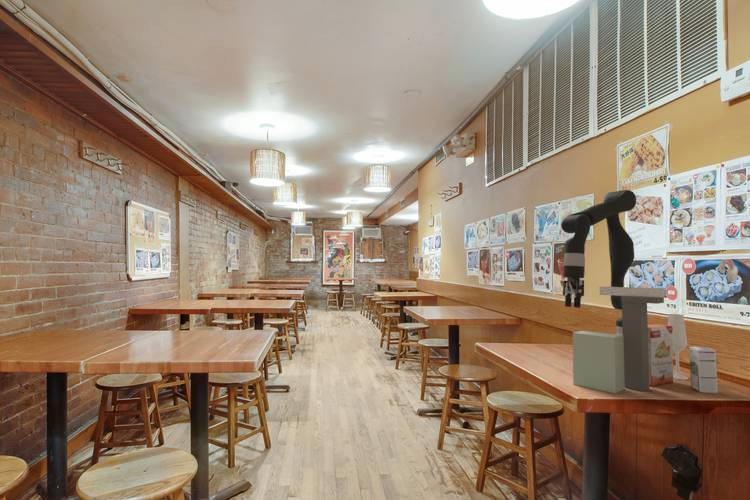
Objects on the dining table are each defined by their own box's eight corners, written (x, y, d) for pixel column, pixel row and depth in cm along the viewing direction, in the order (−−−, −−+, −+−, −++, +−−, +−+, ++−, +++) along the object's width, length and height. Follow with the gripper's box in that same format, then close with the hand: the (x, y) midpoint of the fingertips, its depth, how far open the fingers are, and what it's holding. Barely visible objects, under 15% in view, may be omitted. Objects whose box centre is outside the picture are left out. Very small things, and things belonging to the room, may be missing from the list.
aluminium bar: (599, 294, 156) (599, 286, 157) (603, 294, 158) (602, 286, 159) (662, 297, 141) (662, 288, 141) (665, 297, 143) (665, 288, 143)
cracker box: (652, 387, 149) (651, 327, 150) (635, 383, 154) (634, 325, 155) (675, 382, 155) (673, 325, 156) (657, 378, 161) (656, 323, 162)
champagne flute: (662, 375, 166) (661, 313, 167) (678, 374, 166) (676, 313, 167) (676, 379, 159) (674, 315, 160) (693, 379, 160) (691, 315, 161)
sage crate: (573, 384, 151) (572, 332, 152) (583, 380, 156) (582, 330, 157) (615, 393, 141) (614, 337, 142) (624, 389, 146) (623, 335, 147)
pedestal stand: (623, 387, 148) (621, 296, 149) (630, 384, 152) (628, 295, 154) (659, 395, 139) (657, 297, 141) (666, 391, 144) (663, 296, 145)
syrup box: (718, 393, 141) (717, 349, 142) (698, 392, 142) (697, 349, 143) (708, 388, 147) (707, 346, 148) (689, 387, 148) (688, 346, 149)
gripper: (592, 265, 157) (590, 308, 156) (576, 267, 171) (574, 307, 170) (571, 263, 158) (569, 307, 156) (557, 265, 172) (555, 305, 171)
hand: (572, 307), depth 163 cm, fingers open, 8 cm apart
